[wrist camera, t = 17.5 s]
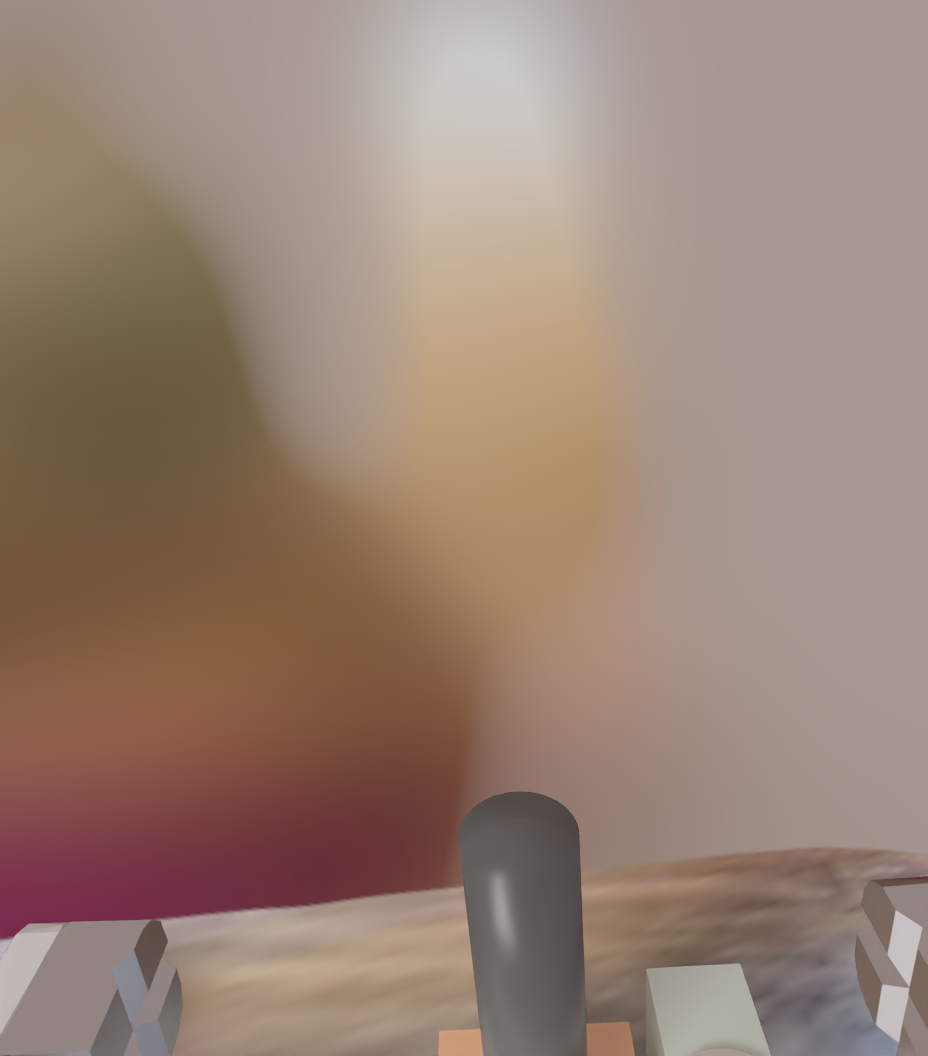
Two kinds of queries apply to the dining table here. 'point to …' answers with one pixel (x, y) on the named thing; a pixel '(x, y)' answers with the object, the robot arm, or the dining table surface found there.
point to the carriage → (527, 934)
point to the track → (701, 1013)
